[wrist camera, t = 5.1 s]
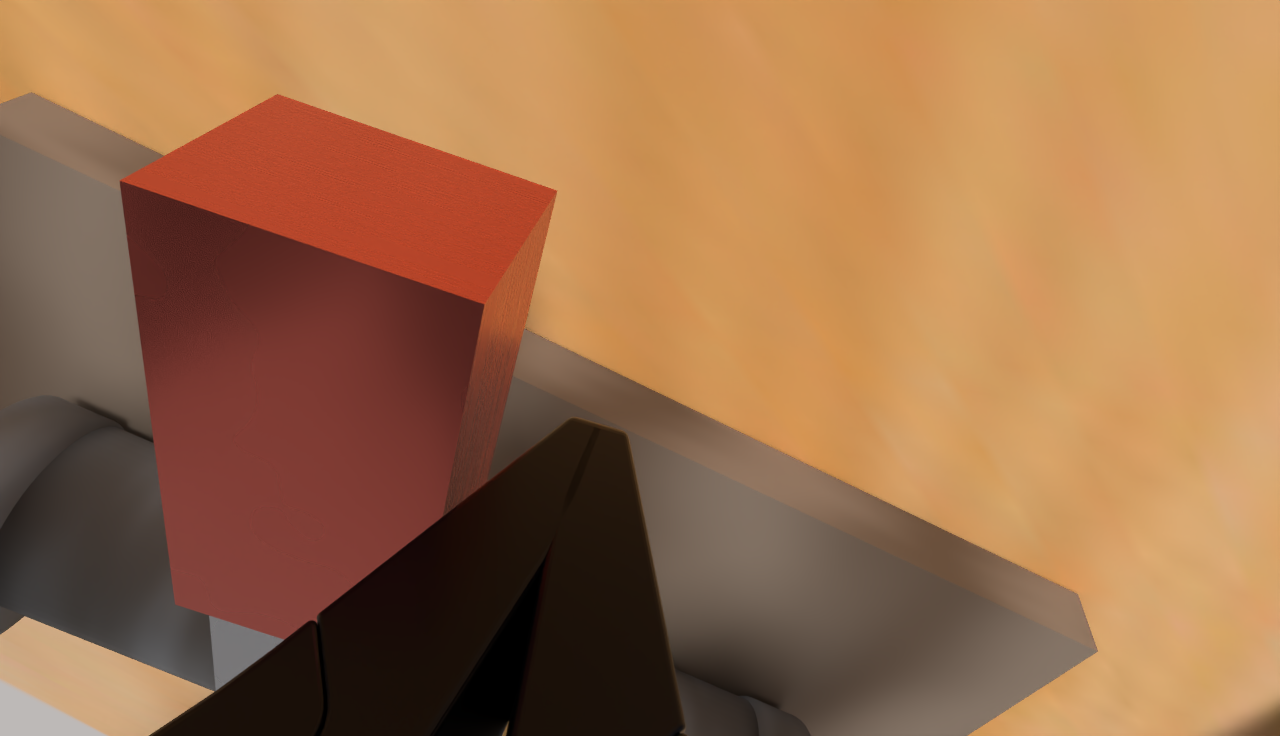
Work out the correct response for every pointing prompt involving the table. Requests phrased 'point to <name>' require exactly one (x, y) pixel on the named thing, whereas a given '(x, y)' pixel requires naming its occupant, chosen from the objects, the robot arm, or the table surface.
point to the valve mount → (537, 404)
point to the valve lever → (319, 353)
